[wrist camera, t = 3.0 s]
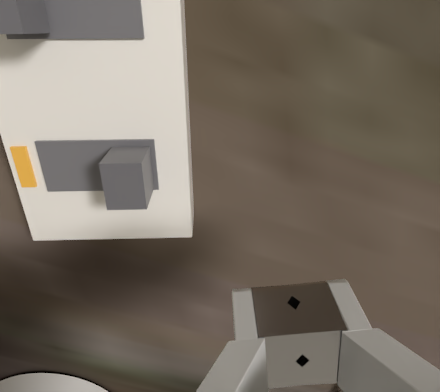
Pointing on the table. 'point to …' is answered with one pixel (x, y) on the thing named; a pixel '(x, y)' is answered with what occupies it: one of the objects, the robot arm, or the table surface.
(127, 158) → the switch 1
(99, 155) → the switch panel
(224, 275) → the table surface
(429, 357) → the table surface
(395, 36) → the table surface
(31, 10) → the switch
